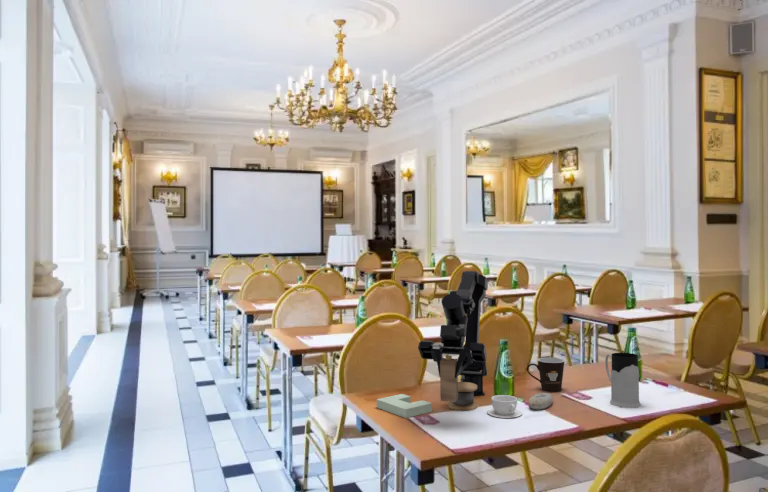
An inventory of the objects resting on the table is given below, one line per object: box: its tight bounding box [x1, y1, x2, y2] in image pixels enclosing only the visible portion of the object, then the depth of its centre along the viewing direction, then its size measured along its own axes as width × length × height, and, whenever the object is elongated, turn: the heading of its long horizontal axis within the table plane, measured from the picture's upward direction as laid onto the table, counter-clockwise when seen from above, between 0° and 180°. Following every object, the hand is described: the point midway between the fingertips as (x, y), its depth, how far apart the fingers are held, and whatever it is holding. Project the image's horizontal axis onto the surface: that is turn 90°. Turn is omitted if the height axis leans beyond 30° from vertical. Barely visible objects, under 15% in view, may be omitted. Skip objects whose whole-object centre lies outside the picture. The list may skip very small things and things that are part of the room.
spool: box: [447, 381, 478, 412], centre depth 179 cm, size 9×9×6 cm
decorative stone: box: [528, 392, 554, 411], centre depth 179 cm, size 6×16×3 cm, turn 150°
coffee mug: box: [526, 357, 565, 393], centre depth 198 cm, size 12×9×10 cm
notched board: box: [376, 393, 433, 419], centre depth 176 cm, size 10×14×2 cm
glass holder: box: [605, 352, 642, 409], centre depth 182 cm, size 9×14×15 cm, turn 12°
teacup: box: [486, 394, 523, 419], centre depth 171 cm, size 10×10×5 cm
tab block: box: [439, 355, 459, 403], centre depth 161 cm, size 4×4×12 cm
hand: (447, 376), depth 160 cm, fingers closed on tab block, 4 cm apart
